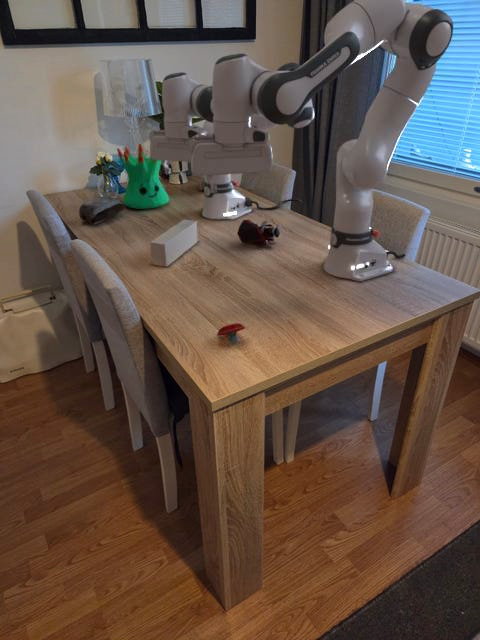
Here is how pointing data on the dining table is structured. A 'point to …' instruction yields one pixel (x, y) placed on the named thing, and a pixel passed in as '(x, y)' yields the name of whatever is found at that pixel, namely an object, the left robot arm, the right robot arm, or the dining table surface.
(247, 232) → the toy
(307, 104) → the left robot arm
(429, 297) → the dining table surface
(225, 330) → the red mushroom
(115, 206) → the rock
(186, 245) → the bar
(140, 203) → the toy
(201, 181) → the artifact
